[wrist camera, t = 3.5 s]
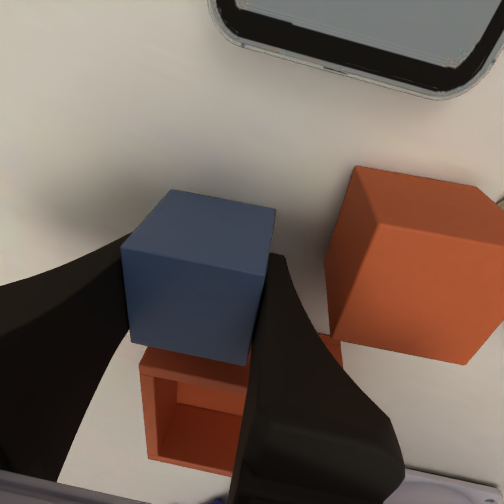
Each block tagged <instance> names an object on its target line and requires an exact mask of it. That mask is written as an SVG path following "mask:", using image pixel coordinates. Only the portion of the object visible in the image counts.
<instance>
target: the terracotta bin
mask: <svg viewBox="0 0 504 504" xmlns="http://www.w3.org/2000/svg"><path fill="white" fill-rule="evenodd" d="M318 335H319V336H320V338H321V339H322V341H323V342H324V344H325V345H326V347H327V348H328V350H329V351H330V353H331V354H332V355H333V356H334V358H335V359H336V360H337V362H338V363H339V364H340V365H341V367H342V368H343V362H342V354H341V347H340V346H341V344H340V341H339V340H334V339H331V336H327V335H322V334H318ZM251 345H252V341H251ZM250 358H251V346H250V351H249V355H248V360H247V364H246V366H241V365H236V364H232V363H227V362H222V361H217V360H212V359H208V358H203V357H198V356H193V355H188V354H184V353H179V352H174V351H169V350H165V349H160V348H155V347H150V346H148V347H147V349H146V351H145V353H144V355H143V357H142V359H141V361H140V363H139V372H140V383H141V393H142V403H143V413H144V423H145V434H146V444H147V454H148V459H151V460H156V461H160V462H165V463H169V464H174V465H178V466H183V467H187V468H192V469H197V470H201V471H206V472H210V473H215V474H219V475H224V476H228V477H232V474H233V468H234V462H235V457H236V451H237V445H238V440H239V434H240V428H241V422H242V417H243V411H244V405H245V399H246V393H247V387H248V380H249V371H250Z"/></svg>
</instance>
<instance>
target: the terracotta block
mask: <svg viewBox="0 0 504 504" xmlns="http://www.w3.org/2000/svg"><path fill="white" fill-rule="evenodd" d="M324 268H325V279H326V291H327V302H328V314H329V325H330V336H331V339H334V340H339V341H344V342H349V343H354V344H359V345H364V346H369V347H374V348H379V349H384V350H389V351H394V352H399V353H404V354H409V355H414V356H419V357H424V358H429V359H435V360H440V361H445V362H450V363H455V364H460V365H466V364H467V363H468V362H469V360H470V359H471V358H472V357H473V356H474V354H475V353H476V352H477V351H478V350H479V348H480V347H481V346H482V345H483V344H484V342H485V341H486V340H487V339H488V338H489V337H490V335H491V334H492V333H493V332H494V331H495V329H496V328H497V327H498V326H499V325H500V323H501V322H502V321H503V320H504V210H502V209H501V208H500V207H499V206H498V205H497V204H496V203H494V202H493V201H492V200H491V199H490V198H489V197H488V196H486V195H485V194H484V193H483V192H482V191H481V190H479V189H478V188H477V187H473V186H467V185H461V184H456V183H450V182H444V181H439V180H433V179H428V178H422V177H416V176H411V175H405V174H399V173H394V172H388V171H383V170H377V169H371V168H366V167H360V166H356V167H355V168H354V171H353V174H352V177H351V181H350V184H349V187H348V190H347V193H346V196H345V199H344V202H343V205H342V208H341V211H340V214H339V217H338V220H337V223H336V226H335V229H334V232H333V235H332V238H331V241H330V244H329V247H328V251H327V254H326V257H325V260H324Z"/></svg>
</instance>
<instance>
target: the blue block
mask: <svg viewBox="0 0 504 504" xmlns="http://www.w3.org/2000/svg"><path fill="white" fill-rule="evenodd" d="M275 215H276V210H275V209H272V208H267V207H261V206H256V205H251V204H246V203H240V202H235V201H230V200H225V199H220V198H214V197H209V196H204V195H199V194H194V193H188V192H183V191H178V190H173V189H171V190H170V191H169V192H168V193H167V194H166V195H165V196H164V198H163V199H162V200H161V201H160V202H159V203H158V204H157V206H156V207H155V208H154V209H153V210H152V211H151V212H150V213H149V215H148V216H147V217H146V218H145V219H144V220H143V221H142V222H141V224H140V225H139V226H138V227H137V228H136V229H135V230H134V231H133V233H132V234H131V235H130V236H129V237H128V238H127V239H126V240H125V242H124V243H123V244H122V245H121V247H120V249H121V258H122V267H123V276H124V285H125V294H126V302H127V311H128V320H129V329H130V338H131V342H132V343H136V344H141V345H145V346H150V347H155V348H160V349H165V350H169V351H174V352H179V353H184V354H188V355H193V356H198V357H203V358H208V359H212V360H217V361H222V362H227V363H232V364H236V365H241V366H246V364H247V360H248V355H249V351H250V346H251V341H252V337H253V332H254V328H255V323H256V318H257V314H258V309H259V304H260V300H261V295H262V290H263V286H264V281H265V276H266V270H267V264H268V258H269V252H270V246H271V240H272V234H273V228H274V222H275Z"/></svg>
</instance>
